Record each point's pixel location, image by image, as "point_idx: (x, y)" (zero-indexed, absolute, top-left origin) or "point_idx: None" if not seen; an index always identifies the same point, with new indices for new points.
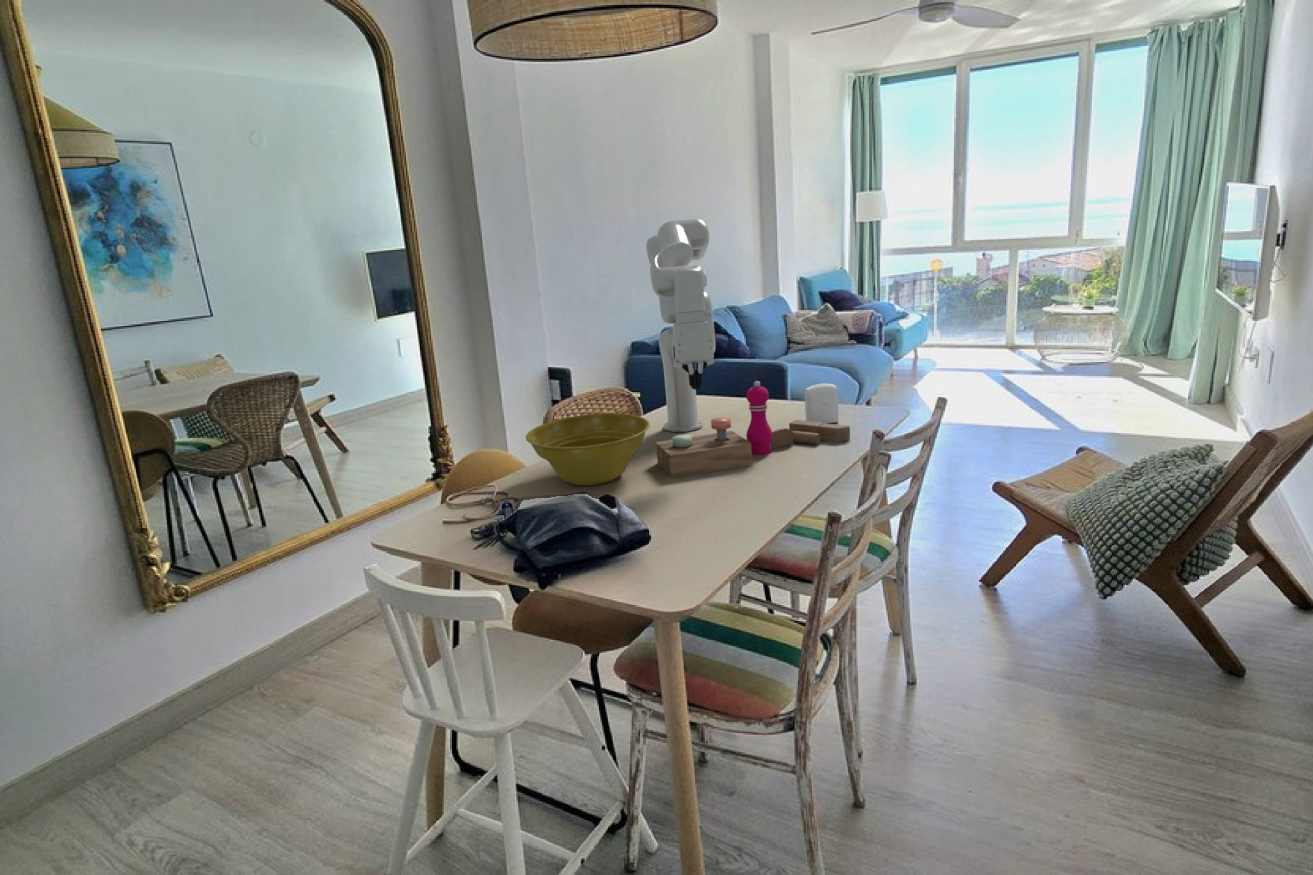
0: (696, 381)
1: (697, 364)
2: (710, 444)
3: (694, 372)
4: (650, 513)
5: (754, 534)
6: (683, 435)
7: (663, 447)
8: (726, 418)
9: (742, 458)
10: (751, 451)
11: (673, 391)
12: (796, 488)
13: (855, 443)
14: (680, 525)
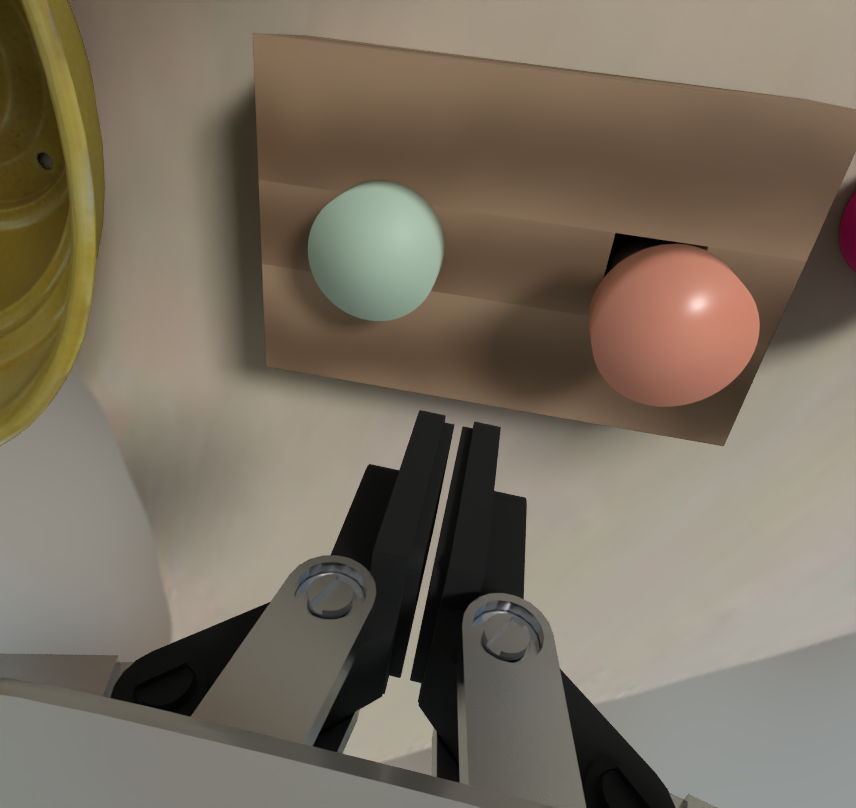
0: (431, 576)
1: (486, 764)
2: (532, 327)
3: (445, 583)
4: (165, 550)
5: (359, 746)
6: (396, 222)
7: (270, 200)
8: (734, 335)
9: None
10: (844, 234)
11: None
12: (628, 646)
13: None
14: None
